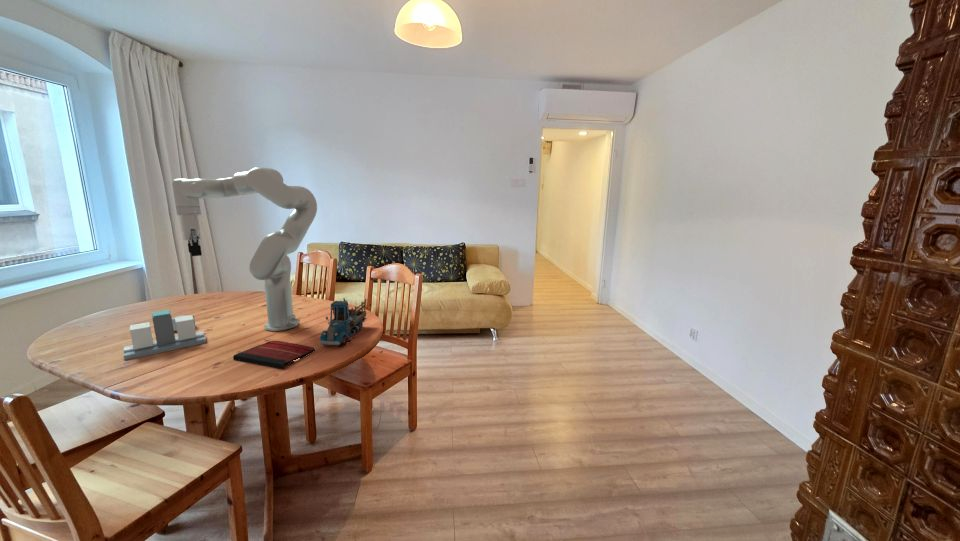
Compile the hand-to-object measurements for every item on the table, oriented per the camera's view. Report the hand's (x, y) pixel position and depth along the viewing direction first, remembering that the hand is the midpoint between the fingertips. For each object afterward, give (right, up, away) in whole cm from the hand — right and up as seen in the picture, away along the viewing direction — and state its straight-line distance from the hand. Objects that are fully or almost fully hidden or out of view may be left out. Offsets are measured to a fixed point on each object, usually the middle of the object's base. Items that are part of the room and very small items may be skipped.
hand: (195, 254), depth 146 cm
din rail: (+1, -33, -15) cm, 36 cm away
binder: (+44, -37, -19) cm, 60 cm away
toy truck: (+61, -33, -2) cm, 69 cm away
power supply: (-6, -31, +2) cm, 31 cm away
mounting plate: (+1, -34, -14) cm, 37 cm away
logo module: (+1, -32, -15) cm, 35 cm away
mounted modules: (+1, -32, -15) cm, 35 cm away
